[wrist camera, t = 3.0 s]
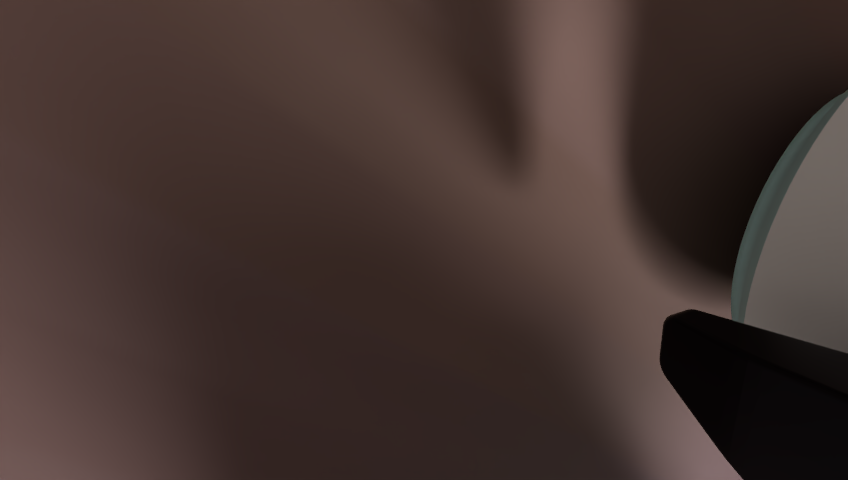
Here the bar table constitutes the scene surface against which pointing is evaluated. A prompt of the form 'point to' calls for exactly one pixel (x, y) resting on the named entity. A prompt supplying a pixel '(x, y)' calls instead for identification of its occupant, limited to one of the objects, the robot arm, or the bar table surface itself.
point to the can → (801, 239)
